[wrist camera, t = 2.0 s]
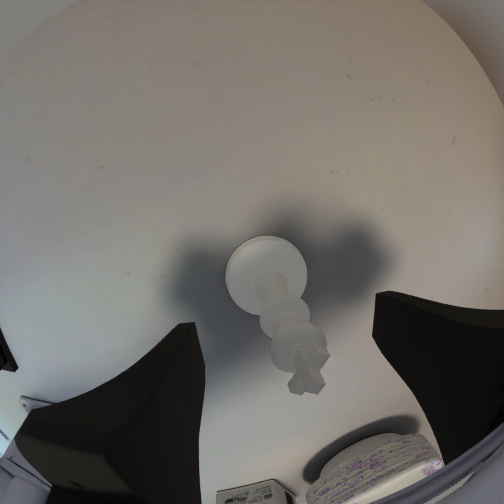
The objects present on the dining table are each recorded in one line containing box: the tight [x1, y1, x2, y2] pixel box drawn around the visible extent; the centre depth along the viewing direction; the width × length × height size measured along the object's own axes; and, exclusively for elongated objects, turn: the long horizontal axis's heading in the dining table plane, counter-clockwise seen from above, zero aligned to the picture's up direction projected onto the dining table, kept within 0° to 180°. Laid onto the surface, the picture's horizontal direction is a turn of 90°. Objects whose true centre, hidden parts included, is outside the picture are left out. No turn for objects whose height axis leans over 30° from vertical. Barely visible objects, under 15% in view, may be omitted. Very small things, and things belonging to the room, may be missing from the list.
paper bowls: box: [306, 433, 443, 504], centre depth 20 cm, size 15×15×8 cm
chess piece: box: [225, 236, 330, 395], centre depth 12 cm, size 5×5×10 cm
